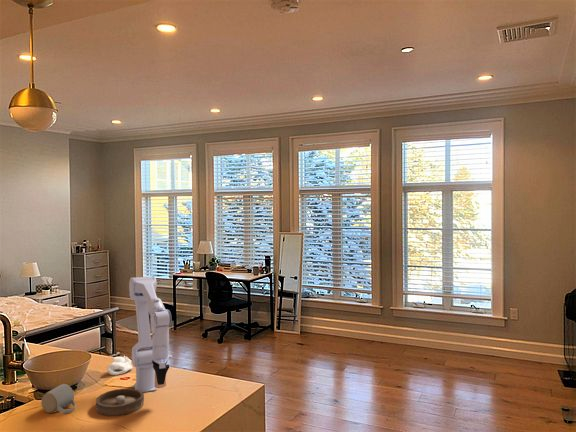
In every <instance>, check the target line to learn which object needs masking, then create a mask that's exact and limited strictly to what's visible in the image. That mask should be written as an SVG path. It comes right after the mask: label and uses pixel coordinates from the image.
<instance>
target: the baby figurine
mask: <svg viewBox="0 0 576 432" xmlns="http://www.w3.org/2000/svg"><path fill="white" fill-rule="evenodd" d="M132 370H133V364H132V359H130V358H129V357H128V356H125V355H123V356H115V357H113V358H112V363H110V364H109V365H108V366H107V369H106V372H107V373H108V374H109V375H112V376H120V375H122V374H125V373H127V372H128V371H132ZM119 374H120V375H119Z"/></svg>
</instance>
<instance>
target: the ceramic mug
mask: <svg viewBox="0 0 576 432" xmlns="http://www.w3.org/2000/svg"><path fill="white" fill-rule="evenodd" d="M74 400H75V392H74V391H73V388H72V387H71V386H70V385H69V384H66V383H62V384H60V385H58V386H56V387H55V388H52V389H51V390H49V391H47V392H45V394H44V395H43V396H42V398H41V403H40V404H41V407H42V409H43V410H44V411H45V412H46V413H49V414H53V413H55V412H60V413H62V414H69V413H73V411H75V408H76V401H74ZM70 405H71V406H72V408H69V409H64V408H66V407H68V406H70Z"/></svg>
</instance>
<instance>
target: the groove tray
mask: <svg viewBox="0 0 576 432" xmlns="http://www.w3.org/2000/svg"><path fill="white" fill-rule="evenodd" d="M144 393H145V392H142V391H140V390H137V389H135V388H119V389H114V390H113V389H112V390H110V391H109V390H108V391H106V392H104V393H102V394H100V395H98V396H97V397H96V399H95V411H96V413H97V414H99V415H101V416H106V417H118V416H119V417H120V416H125V415H128V414H132V413H135V412H137V411H139V410H141V408H143V406H144V402H145V395H144Z"/></svg>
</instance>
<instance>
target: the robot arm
mask: <svg viewBox="0 0 576 432" xmlns="http://www.w3.org/2000/svg"><path fill="white" fill-rule="evenodd" d="M157 285H158V281H157V278H156V277H155V276H154V275H153V276H143V277H142V276H141V277H139V276H138V277H131V278H130V279H129V282H128V291H129V298H130V299H131V300H132V301H134V305H135V314H136V325H137V326H136V328H137V338H138V339H137V342H136V343H135V344H134V345H133V346H132V348H131V365H132V367H133V366H134V368H135V382H134V389H137V390H140V391H142V392H143V393H145V392H146V393H147V392H154V391H157V389H158V388H155V372H156V377H157V383H158V385H162V384H164V382H165V377H166V378H167V373H168V370H169V368H170V364H168V361H169V360H170V359H173V355H172V354H169V353H170V352H169V350H170V349H169V348H170V327H171V325H172V322H173V321H172V318H173V317H172V314H171V313H172V312H171V311H170V309H168V308H167V309H166V307H165V305H164V303H163V301H162V299H161V298H159V297H158V295H157V293H156V291H157ZM150 327H151V328H150ZM151 333H152V336H151Z"/></svg>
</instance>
